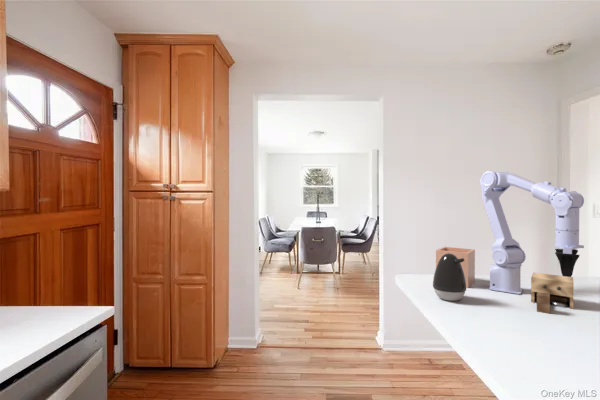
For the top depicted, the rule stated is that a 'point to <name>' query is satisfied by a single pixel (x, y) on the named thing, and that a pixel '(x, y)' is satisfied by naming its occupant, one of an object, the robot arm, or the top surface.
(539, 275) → the bread box
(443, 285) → the black rounded egg shape
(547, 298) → the wooden mallet
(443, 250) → the utensil crock
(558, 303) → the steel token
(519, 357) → the top surface
